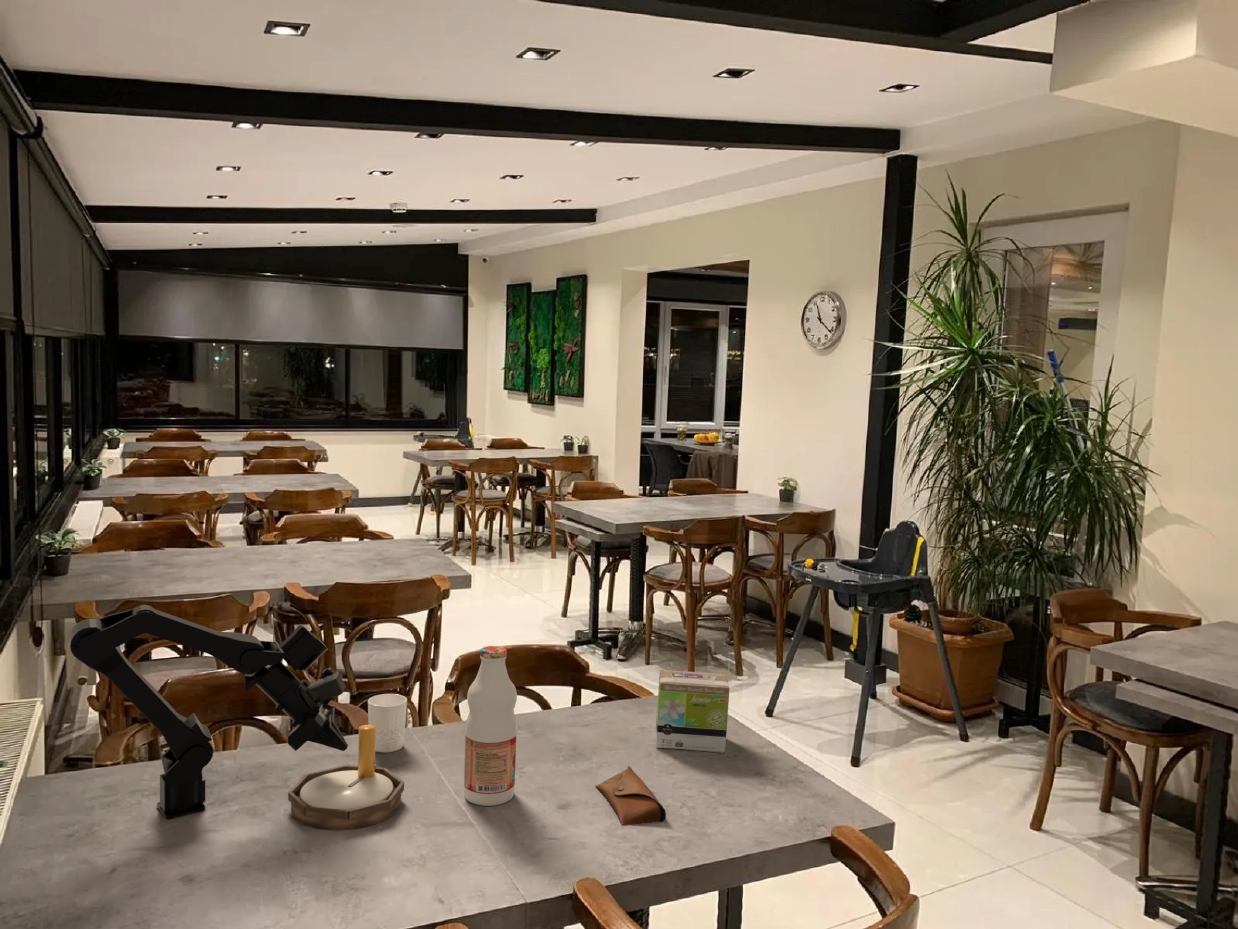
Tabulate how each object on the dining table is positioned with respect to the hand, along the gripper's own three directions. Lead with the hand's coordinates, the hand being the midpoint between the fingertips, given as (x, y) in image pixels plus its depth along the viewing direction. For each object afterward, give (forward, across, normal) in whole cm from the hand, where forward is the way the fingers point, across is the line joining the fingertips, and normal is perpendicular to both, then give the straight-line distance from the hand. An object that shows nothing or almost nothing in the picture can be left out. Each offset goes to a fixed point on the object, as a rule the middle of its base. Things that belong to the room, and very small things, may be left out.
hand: (346, 748), depth 177 cm
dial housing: (+7, -6, +5) cm, 10 cm away
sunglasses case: (+43, -6, -31) cm, 53 cm away
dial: (+5, -6, +3) cm, 8 cm away
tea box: (+55, +22, -44) cm, 74 cm away
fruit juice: (+24, -3, -13) cm, 28 cm away
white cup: (+10, +22, +2) cm, 24 cm away
